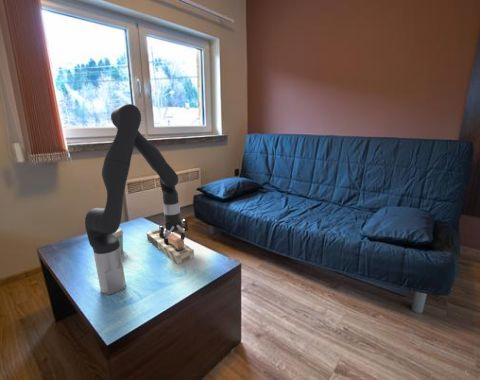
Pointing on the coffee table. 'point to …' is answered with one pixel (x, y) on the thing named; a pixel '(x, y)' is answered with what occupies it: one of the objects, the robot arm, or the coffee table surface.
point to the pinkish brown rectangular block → (176, 242)
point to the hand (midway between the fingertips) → (174, 242)
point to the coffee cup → (119, 237)
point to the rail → (170, 248)
